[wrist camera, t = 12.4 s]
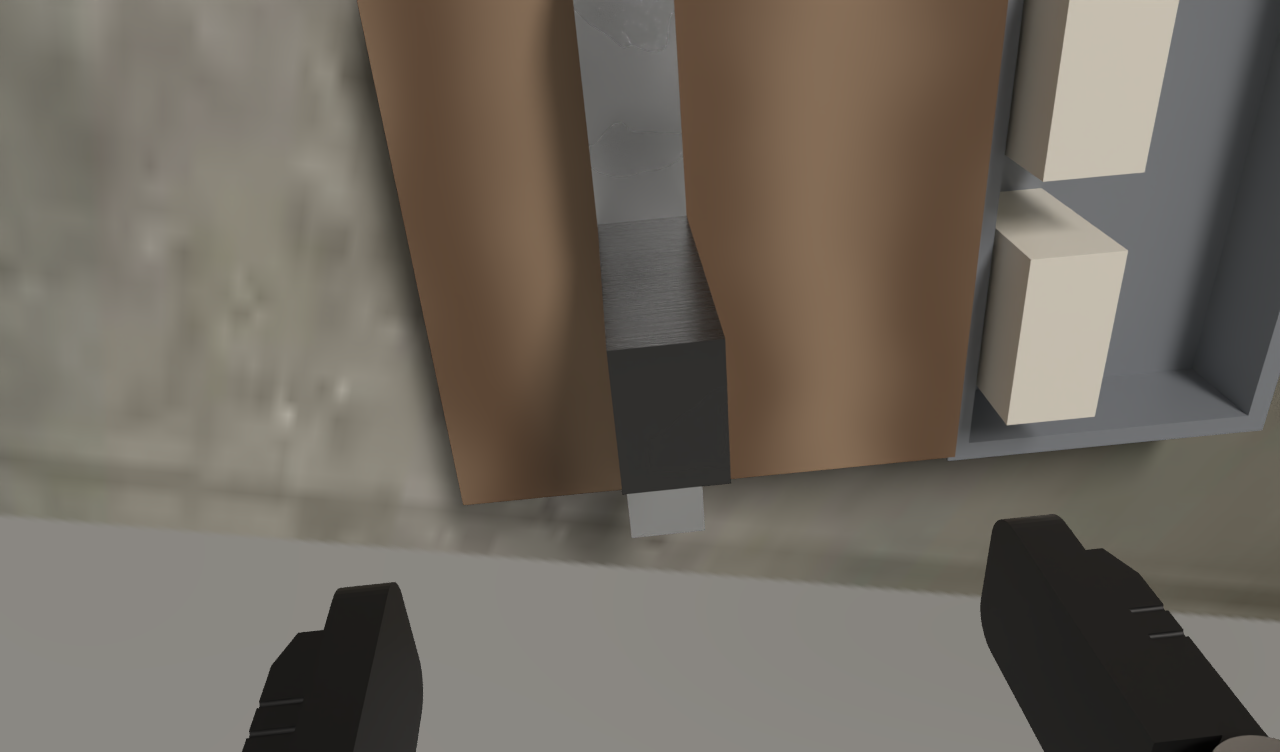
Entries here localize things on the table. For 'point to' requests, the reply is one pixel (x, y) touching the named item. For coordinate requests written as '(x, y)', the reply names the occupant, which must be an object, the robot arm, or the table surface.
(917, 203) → the walnut plate
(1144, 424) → the box
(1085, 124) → the cream tile
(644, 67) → the bar
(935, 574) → the table surface
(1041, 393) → the cream tile
